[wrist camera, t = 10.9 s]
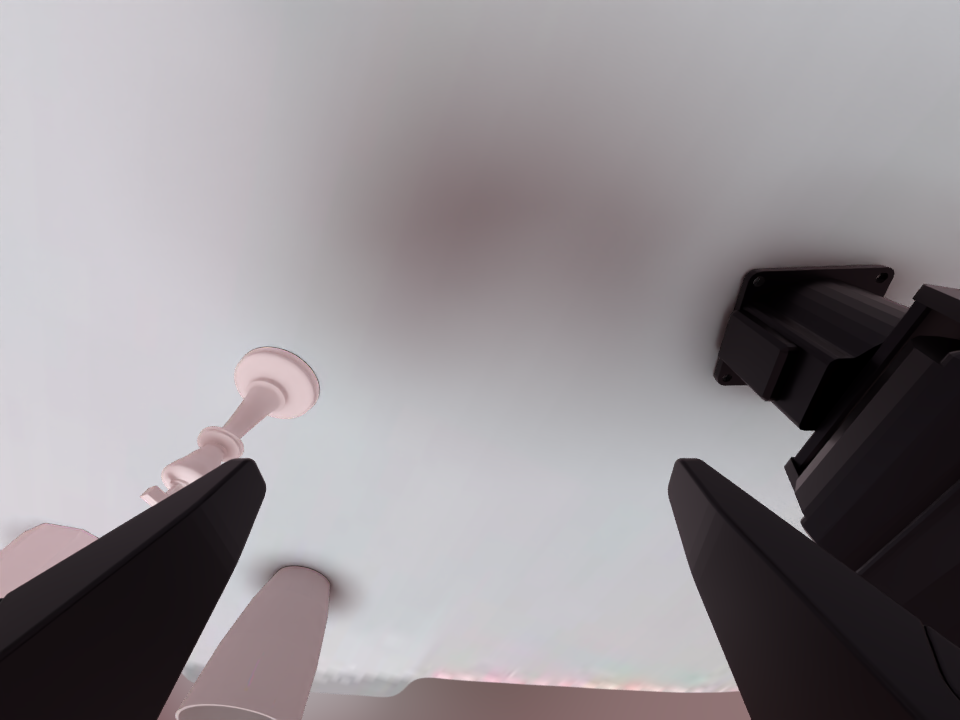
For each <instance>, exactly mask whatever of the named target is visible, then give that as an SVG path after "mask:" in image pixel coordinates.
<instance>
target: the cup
mask: <svg viewBox="0 0 960 720" xmlns="http://www.w3.org/2000/svg"><path fill="white" fill-rule="evenodd" d="M329 595H330V583H329V581H328V580H327V579H326V578H325V577H324V576H323V575H322V574H320V573H318V572H317V571H314V570H312V569H309V568H305V567H299V566H289V567H284V568H282V569H280V570H279V571H277V573H276V574H275V575H274V576H273V577H272V578H271V579H270V580H269V581H268V582H267V583H266V584H265V586H264V587H263V588H262V589H261V590H260V591H259V592H258V593H257V594H256V595H255V596H254V597H253V599H252V600H251V601H250V603H249V604H248V606H247V607H246V608H245V610H244V611H243V612H242V614H241V615H240V616H239V618H238V619H237V620H236V622H235V623H234V624H233V626H232V627H231V628H230V630H229V631H228V633H227V634H226V635H225V637H224V638H223V639H222V641H221V642H220V644H219V645H218V647H217V648H216V650H215V652H214V653H213V655H212V656H211V658H210V660H209V661H208V663H207V664H206V666H205V668H204V669H203V671H202V672H201V674H200V675H199V677H198V679H197V680H196V682H195V683H194V685H193V687H192V688H191V690H190V691H189V693H188V695H187V696H186V698H185V699H184V701H183V703H182V704H181V706H180V707H179V709H178V711H177V712H176V715H175V717H176V720H301V719H302V716H303V712H304V709H305V706H306V702H307V699H308V696H309V692H310V689H311V686H312V682H313V679H314V676H315V673H316V669H317V665H318V660H319V656H320V651H321V646H322V642H323V637H324V632H325V628H326V623H327V618H328V606H329Z"/></svg>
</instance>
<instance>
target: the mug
mask: <svg viewBox="0 0 960 720" xmlns="http://www.w3.org/2000/svg"><path fill="white" fill-rule="evenodd" d="M97 539H99V538H97V537H95V536H94V535H92V534H90V533H88V532H86V531H85V530H82V529H76V528H71V527H65V526H59V525H54V524H48V523H44V524H41V525H39V526H37V527H34V528H32V529H30V530H27V531H25V532H24V533H22V534H21V535H20V536H19V537H17V538H16V539H15V540H14V541H12V542H11V543H10V544H9V545H8V546H6V547H5V548H4V549H3V550H1V551H0V598H4V597H5V595H6V594H8V593H9V592H11V591H13V590H14V589H16V588H17V587H19V586H21V585H22V584H24V583H26V582H27V581H29V580H31V579H32V578H34V577H36V576H37V575H39V574H41V573H42V572H44V571H46V570H47V569H49V568H51V567H52V566H54V565H56V564H57V563H59V562H61V561H62V560H64V559H66V558H67V557H69V556H71V555H72V554H74V553H76V552H77V551H79V550H81V549H82V548H84V547H86V546H87V545H89V544H91V543H92V542H94V541H96V540H97Z"/></svg>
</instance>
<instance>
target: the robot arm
mask: <svg viewBox="0 0 960 720" xmlns="http://www.w3.org/2000/svg"><path fill="white" fill-rule="evenodd" d="M879 274H880V276H879V277H878V278H877V279H876V277H877V276H878V275H879ZM757 277H760V279H759V281H758V282H757V283H755V284H753V282H754V280H755V279H756V278H757ZM893 277H894V270H893V269H892V268H889V267H886V266H883V265H863V266H833V267H802V268H772V269H755V270H752V271H750V272H749V273H748V274H747V275H746V276H745V278H744V280H743V283H742V286H741V289H740V293H739V296H738V299H737V302H736V305H735V309H734V312H733V313H732V314H731V316H730V319H729V322H728V325H727V329H726V332H725V335H724V338H723V342H722V345H721V348H720V351H719V361H718V364H717V367H716V370H715V373H714V378H715V380H716V381H717V382H718V383H719V384H721V385H725V386H726V385H748V386H749V387H750V388H751V389H753V390H754V391H755V392H756V393H757V394H758V395H759V396H760V397H761V398H762V399H763V400H764V401H771V402H772V403H773V404H774V405H775V406H776V407H777V408H778V409H779V410H780V411H782V412H783V413H784V414H785V415H786V416H787V417H788V418H789V419H790V420H791V421H792V422H793V423H794V424H795V425H796V426H797V427H798V428H799V429H800V430H804V431H815V432H814V433H813V434H812V436H811V437H810V438H809V439H808V441H807V442H806V443H805V445H804V446H803V447H802V449H801V450H800V451H799V452H798V454H797V455H796V456H795V457H791V458H790V460H789V461H788V462H787V463H786V465H785V466H784V468H785V471H786V473H787V475H788V478H789V480H790V482H791V485H792V487H793V490H794V492H795V495H796V498H797V500H798V503H799V505H800V508H801V510H802V513H803V514H804V517H803V518H802V519H801V521H800V522H801V525H802V527H803V528H804V530H805V532H806V533H807V534H808V535H809V537H810V538H811V539H812V540H813V541H812V540H811V539H809V538H808V537H806V536H805V535H804V534H802V533H801V532H800V531H798V530H797V529H795V528H794V527H793V526H791V525H790V524H789V523H787V522H786V521H785V520H783V519H782V518H780V517H779V516H778V515H776V514H775V513H774V512H772V511H771V510H769V509H768V508H767V507H765V506H764V505H763V504H761V503H760V502H758V501H757V500H756V499H754V498H753V497H752V496H750V495H749V494H747V493H746V492H745V491H743V490H742V489H741V488H739V487H738V486H737V485H735V484H734V483H732V482H731V481H730V480H728V479H727V478H726V477H724V476H723V475H721V474H720V473H719V472H717V471H716V470H715V469H713V468H712V467H710V466H709V465H708V464H706V463H705V462H704V461H702V460H700V459H697V458H680V459H678V460H676V462H675V464H674V467H673V471H672V474H671V478H670V481H669V485H668V496H669V500H670V503H671V507H672V510H673V514H674V517H675V520H676V524H677V527H678V531H679V534H680V537H681V541H682V544H683V547H684V551H685V554H686V558H687V561H688V564H689V567H690V570H691V573H692V576H693V579H694V581H695V584H696V586H697V589H698V591H699V594H700V596H701V599H702V601H703V603H704V606H705V608H706V611H707V613H708V616H709V618H710V620H711V623H712V625H713V628H714V630H715V633H716V635H717V637H718V640H719V642H720V645H721V647H722V650H723V652H724V654H725V657H726V659H727V662H728V664H729V667H730V669H731V671H732V674H733V676H734V679H735V681H736V684H737V686H738V688H739V691H740V693H741V696H742V698H743V701H744V703H745V705H746V708H747V710H748V713H749V715H750V717H751V720H960V289H955V288H948V287H942V286H935V285H929V284H923V285H922V287H921V288H920V289H919V291H918V292H917V293H916V295H915V296H914V297H913V298H912V299H914V300H916V301H915V302H914V303H913V304H912V306H911V307H910V308H909V307H906V306H904V305H901V304H899V303H896V302H893V301H891V300H888V299H886V298H883V296H884V295H885V293H886V291H887V289H888V287H889V285H890V283H891V281H892V279H893ZM726 374H728V375H727V376H726V377H725V378H723V376H724V375H726ZM265 493H266V484H265V481H264V479H263V477H262V475H261V473H260V471H259V469H258V467H257V464H256V463H255V461H254V460H252V459H250V458H234V459H230V460H228V461H227V462H225V463H223V464H222V465H220V466H218V467H217V468H215V469H213V470H212V471H210V472H209V473H207V474H205V475H204V476H202V477H200V478H199V479H197V480H195V481H194V482H192V483H190V484H189V485H187V486H185V487H184V488H182V489H180V490H179V491H177V492H175V493H174V494H172V495H170V496H169V497H167V498H165V499H164V500H162V501H160V502H159V503H157V504H155V505H154V506H152V507H150V508H149V509H147V510H145V511H144V512H142V513H140V514H139V515H137V516H135V517H134V518H132V519H130V520H129V521H127V522H125V523H124V524H122V525H120V526H119V527H117V528H115V529H114V530H112V531H111V532H109V533H107V534H106V535H104V536H102V537H101V538H99V539H97V540H96V541H94V542H92V543H91V544H89V545H87V546H86V547H84V548H82V549H81V550H79V551H77V552H76V553H74V554H72V555H71V556H69V557H67V558H66V559H64V560H62V561H61V562H59V563H57V564H56V565H54V566H52V567H51V568H49V569H47V570H46V571H44V572H42V573H41V574H39V575H37V576H36V577H34V578H32V579H31V580H29V581H27V582H26V583H24V584H22V585H21V586H19V587H17V588H16V589H14V590H13V591H11V592H9V593H8V594H6V595H5V597H4V598H0V720H157V719H158V717H159V715H160V713H161V711H162V709H163V707H164V705H165V703H166V701H167V699H168V697H169V695H170V694H171V692H172V690H173V688H174V686H175V684H176V682H177V680H178V678H179V676H180V674H181V672H182V670H183V668H184V666H185V664H186V662H187V661H188V659H189V657H190V655H191V653H192V651H193V649H194V647H195V645H196V643H197V641H198V639H199V637H200V635H201V633H202V631H203V629H204V628H205V626H206V624H207V622H208V620H209V618H210V616H211V614H212V612H213V610H214V608H215V606H216V604H217V602H218V600H219V598H220V596H221V594H222V593H223V591H224V589H225V587H226V585H227V583H228V581H229V579H230V577H231V575H232V573H233V571H234V569H235V567H236V565H237V563H238V560H239V558H240V556H241V553H242V551H243V549H244V546H245V544H246V541H247V539H248V536H249V534H250V531H251V529H252V526H253V524H254V521H255V519H256V516H257V514H258V511H259V509H260V506H261V504H262V502H263V499H264V497H265Z"/></svg>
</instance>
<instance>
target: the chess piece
mask: <svg viewBox="0 0 960 720" xmlns="http://www.w3.org/2000/svg"><path fill="white" fill-rule="evenodd" d="M234 380H235V385H236V388H237V390H238V392H239V393H240V395H241V396H242V398H243V399H244V400H243V401H242V403H241V404H240V405H239V407H238V408H237V410H236V411H235V412H234V414H233V415H232V416H231V418H230V419H229V420H228V421H227V422H226V424H225V425H224V426H223V427H222V428H221V427H215V426H212V427H207V428H204V429H203V430H202V431H201V432H200V434H199V436H198V439H197V442H198V446H199V447H200V449H198V450H196V451H194V452H192V453H190V454H189V455H187V456H185V457H183V458H181V459H178V460H176V461H174V462H173V463H171V464H169V465H168V466H166V467H165V468H164V469H163V471H162V473H161V478H162V481H163V483H164V485H165V486H166V487H167V488H168V489H169V490H168V491H167V492H166V493H165V492H163V491H162V490H161V489H160V488H159V487H158V486H153V487H150V488H148V489H147V490H146V491H145V492H144V493H143V494H142V495H141V496H140V497H141V498H142V499H143V500H144V501H146V502H147V503H148V504H149V505H150V506H154V505H155V504H157V503H159V502H160V501H162V500H164V499H165V498H167V497H169V496H170V495H172V494H174V493H175V492H177V491H179V490H180V489H182V488H184V487H185V486H187V485H189V484H190V483H192V482H194V481H195V480H197V479H199V478H200V477H202V476H204V475H205V474H207V473H209V472H210V471H212V470H213V469H215V468H217V467H218V466H220V464H221V461H222V462H227V461H228V460H230V459H234V458H239V457H240V456H241V455H242V454H243V452H244V446H243V443H242V441H241V440H240V439H241V438H242V437H243V436H244V435H245V434H246V433H247V432H248V431H249V430H251V429H252V428H253V427H254V426H255V425H256V424H258V423H259V422H260V421H261V420H262V419H264V418H265V417H266V416H267V415H268V416H270V417H274V418H280V419H291V418H296V417H299V416H301V415H303V414H305V413H306V412H307V411H308V410H309V409H310V408H312V407H313V406H314V404H315V403H316V402H317V400H318V397H319V384H318V381H317V378H316V376H315V374H314V372H313V371H312V370H311V368H310V367H309V366H308V365H307V364H306V363H305V362H304V361H303V360H301V359H300V358H299V357H297V356H296V355H294V354H292V353H290V352H288V351H285V350H282V349H278V348H273V347H262V348H257V349H254V350H252V351H250V352H248V353H247V354H246V355H245V356H244V357H243V358H242V360H241V361H240V362H239V363H238V365H237V366H236V369H235V373H234Z"/></svg>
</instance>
